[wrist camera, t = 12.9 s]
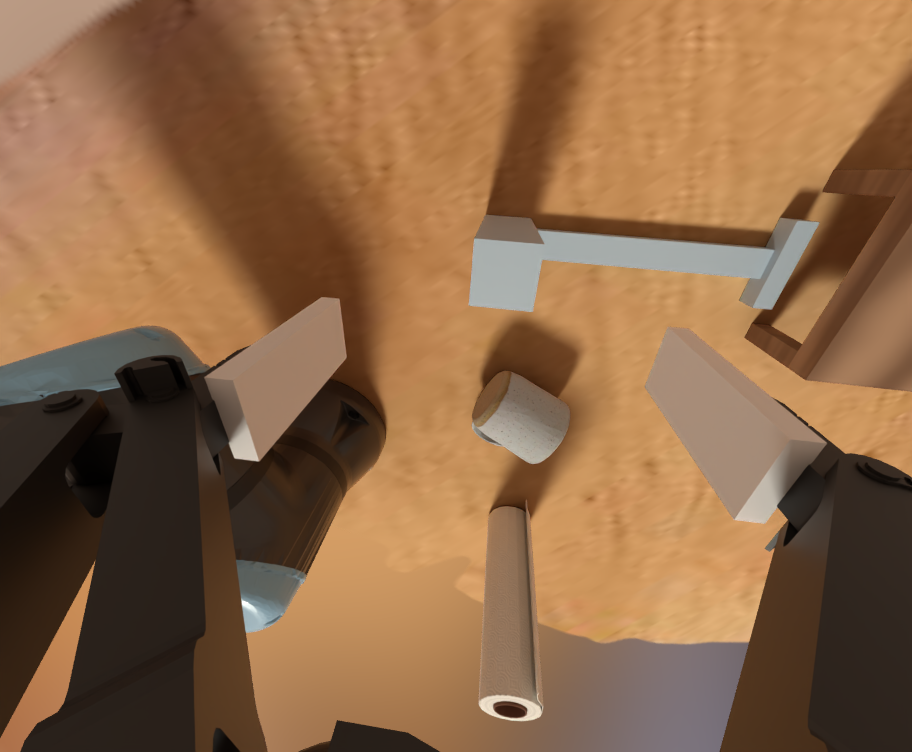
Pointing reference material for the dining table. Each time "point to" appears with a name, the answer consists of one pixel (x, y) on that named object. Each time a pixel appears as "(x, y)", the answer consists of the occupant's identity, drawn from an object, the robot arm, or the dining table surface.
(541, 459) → the ceramic mug
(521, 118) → the dining table surface
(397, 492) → the dining table surface
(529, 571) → the paper towel roll
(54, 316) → the dining table surface
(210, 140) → the dining table surface
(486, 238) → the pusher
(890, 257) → the walnut table
